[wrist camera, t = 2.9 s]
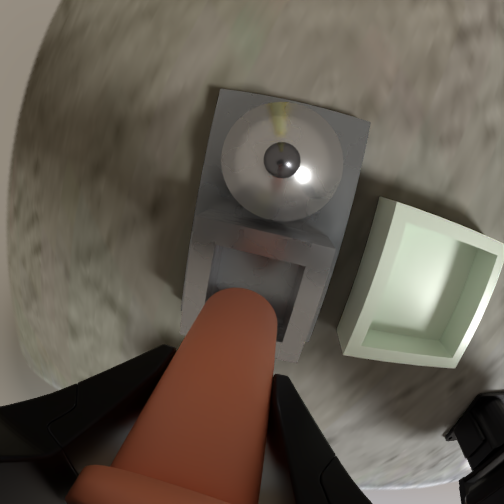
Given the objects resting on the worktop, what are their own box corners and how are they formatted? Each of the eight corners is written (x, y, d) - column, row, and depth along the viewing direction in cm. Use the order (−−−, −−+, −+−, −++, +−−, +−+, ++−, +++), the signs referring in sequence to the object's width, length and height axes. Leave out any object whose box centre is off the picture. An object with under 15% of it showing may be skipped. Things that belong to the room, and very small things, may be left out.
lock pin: (299, 291, 10) (306, 552, 2) (274, 369, 11) (248, 575, 3) (198, 266, 11) (35, 464, 2) (187, 347, 12) (91, 528, 3)
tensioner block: (365, 125, 14) (385, 113, 11) (307, 333, 18) (310, 367, 14) (224, 93, 14) (208, 74, 11) (185, 303, 18) (165, 331, 15)
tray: (484, 235, 14) (508, 246, 12) (439, 346, 17) (454, 368, 14) (379, 196, 15) (397, 201, 12) (336, 329, 17) (342, 355, 15)
